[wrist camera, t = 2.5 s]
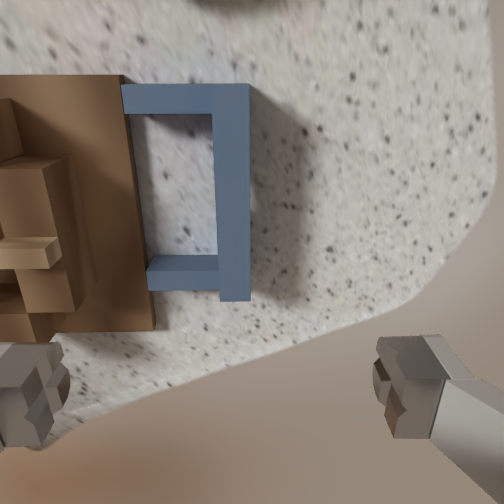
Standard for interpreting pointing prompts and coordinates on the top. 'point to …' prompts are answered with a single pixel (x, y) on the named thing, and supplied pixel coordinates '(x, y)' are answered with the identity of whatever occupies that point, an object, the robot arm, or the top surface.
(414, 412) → the robot arm
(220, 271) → the blue stepped bracket
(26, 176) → the stand
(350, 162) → the top surface
